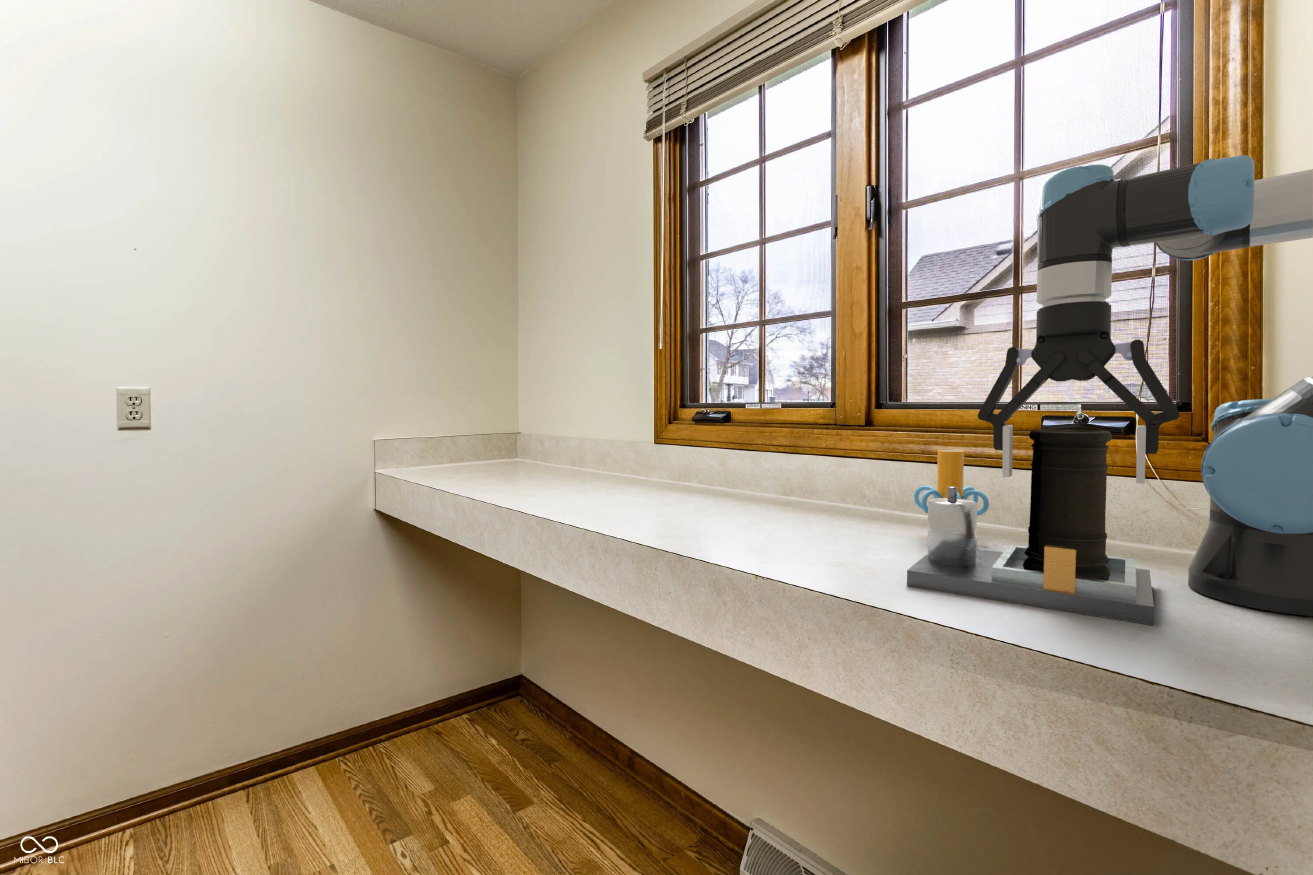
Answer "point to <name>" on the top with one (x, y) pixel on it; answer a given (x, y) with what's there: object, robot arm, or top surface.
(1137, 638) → the top surface
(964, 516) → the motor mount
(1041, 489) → the container
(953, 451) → the orange cylinder with loops
